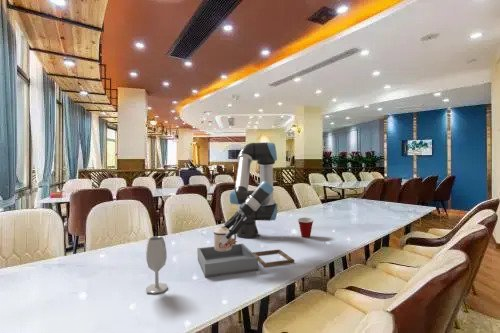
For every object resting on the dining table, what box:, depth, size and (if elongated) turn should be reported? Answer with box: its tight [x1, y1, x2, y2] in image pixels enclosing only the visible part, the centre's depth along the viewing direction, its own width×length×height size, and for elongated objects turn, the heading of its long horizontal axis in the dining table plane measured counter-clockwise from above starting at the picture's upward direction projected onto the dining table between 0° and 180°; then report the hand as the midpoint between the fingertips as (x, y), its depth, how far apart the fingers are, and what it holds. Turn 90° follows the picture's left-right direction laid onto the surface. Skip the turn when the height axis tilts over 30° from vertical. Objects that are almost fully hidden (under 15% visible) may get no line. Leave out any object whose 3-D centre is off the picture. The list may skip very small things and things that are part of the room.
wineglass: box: [145, 235, 169, 295], centre depth 117 cm, size 9×9×21 cm
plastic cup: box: [297, 217, 315, 239], centre depth 196 cm, size 11×11×12 cm
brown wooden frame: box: [251, 248, 295, 268], centre depth 153 cm, size 18×16×2 cm
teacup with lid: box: [213, 225, 237, 252], centre depth 145 cm, size 12×9×12 cm
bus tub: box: [196, 243, 259, 278], centre depth 145 cm, size 25×25×6 cm
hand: (219, 240), depth 144 cm, fingers closed on teacup with lid, 9 cm apart
